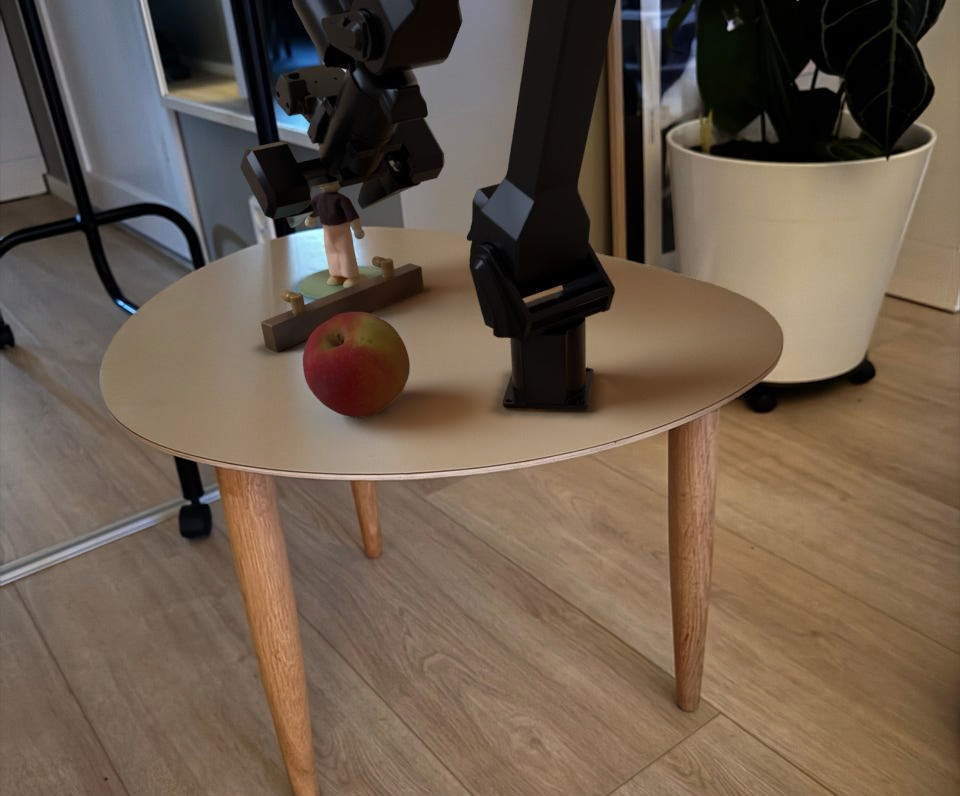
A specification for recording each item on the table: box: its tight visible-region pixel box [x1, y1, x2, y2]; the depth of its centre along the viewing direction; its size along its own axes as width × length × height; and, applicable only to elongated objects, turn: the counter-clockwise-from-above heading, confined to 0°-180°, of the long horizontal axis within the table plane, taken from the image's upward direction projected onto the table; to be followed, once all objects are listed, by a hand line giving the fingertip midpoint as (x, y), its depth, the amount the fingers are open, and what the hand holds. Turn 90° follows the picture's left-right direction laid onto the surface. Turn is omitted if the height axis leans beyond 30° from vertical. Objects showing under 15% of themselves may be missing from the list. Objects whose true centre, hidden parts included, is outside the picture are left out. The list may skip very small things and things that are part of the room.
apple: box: [302, 312, 411, 418], centre depth 71 cm, size 8×8×8 cm
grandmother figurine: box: [304, 183, 368, 288], centre depth 94 cm, size 8×4×13 cm, turn 65°
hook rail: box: [260, 255, 425, 353], centre depth 92 cm, size 19×13×4 cm
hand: (326, 214), depth 95 cm, fingers open, 8 cm apart
